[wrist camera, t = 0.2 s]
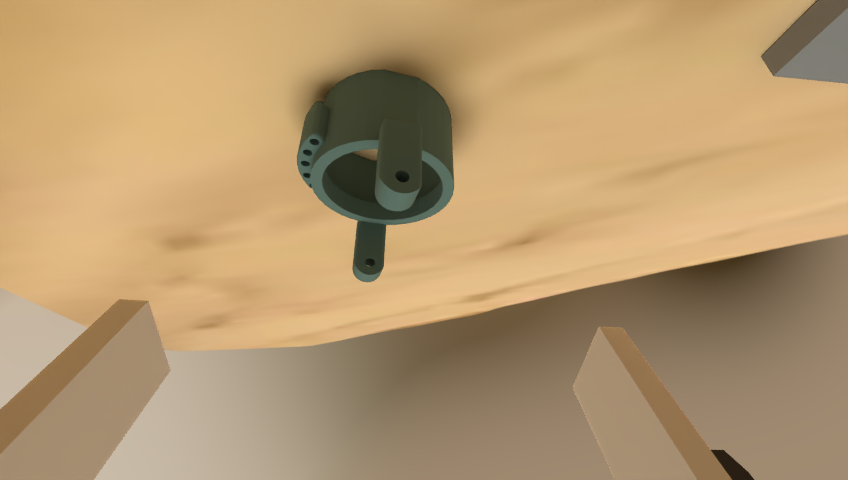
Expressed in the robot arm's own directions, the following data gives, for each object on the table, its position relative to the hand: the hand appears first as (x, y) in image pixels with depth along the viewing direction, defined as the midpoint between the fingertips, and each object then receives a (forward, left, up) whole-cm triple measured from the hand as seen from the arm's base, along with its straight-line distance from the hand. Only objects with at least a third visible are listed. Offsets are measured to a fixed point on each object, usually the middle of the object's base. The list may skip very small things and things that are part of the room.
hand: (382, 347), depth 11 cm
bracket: (+6, -1, -16) cm, 17 cm away
